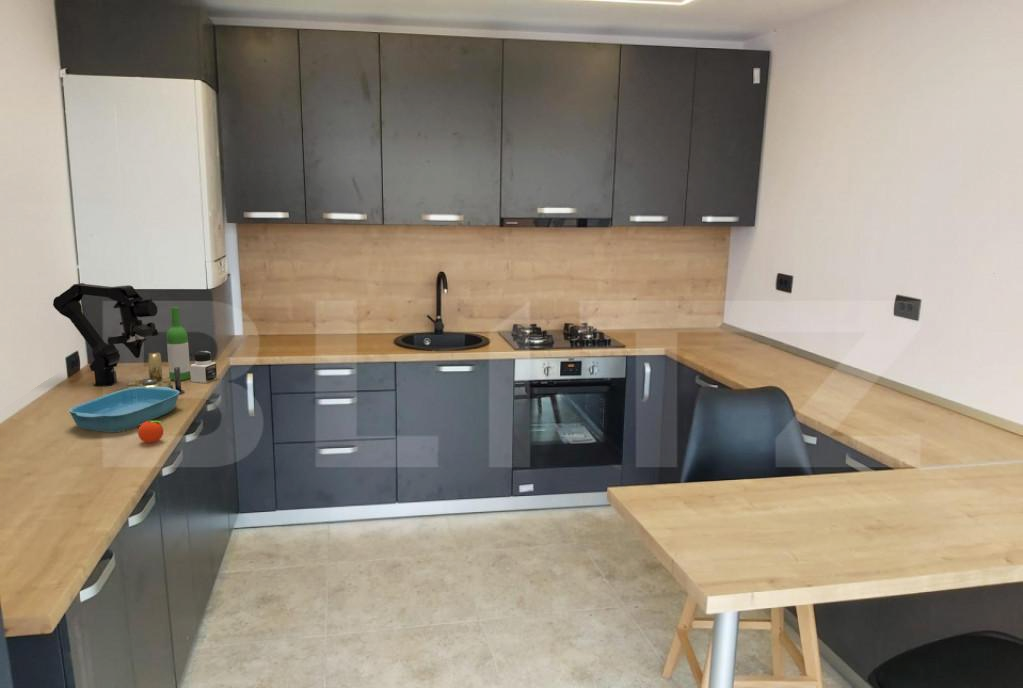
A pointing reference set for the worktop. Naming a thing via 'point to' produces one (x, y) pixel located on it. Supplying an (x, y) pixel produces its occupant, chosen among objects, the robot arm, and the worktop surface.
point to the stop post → (178, 380)
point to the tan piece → (152, 374)
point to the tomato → (150, 431)
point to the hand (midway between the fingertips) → (137, 357)
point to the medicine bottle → (203, 368)
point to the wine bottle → (178, 347)
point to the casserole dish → (124, 408)
